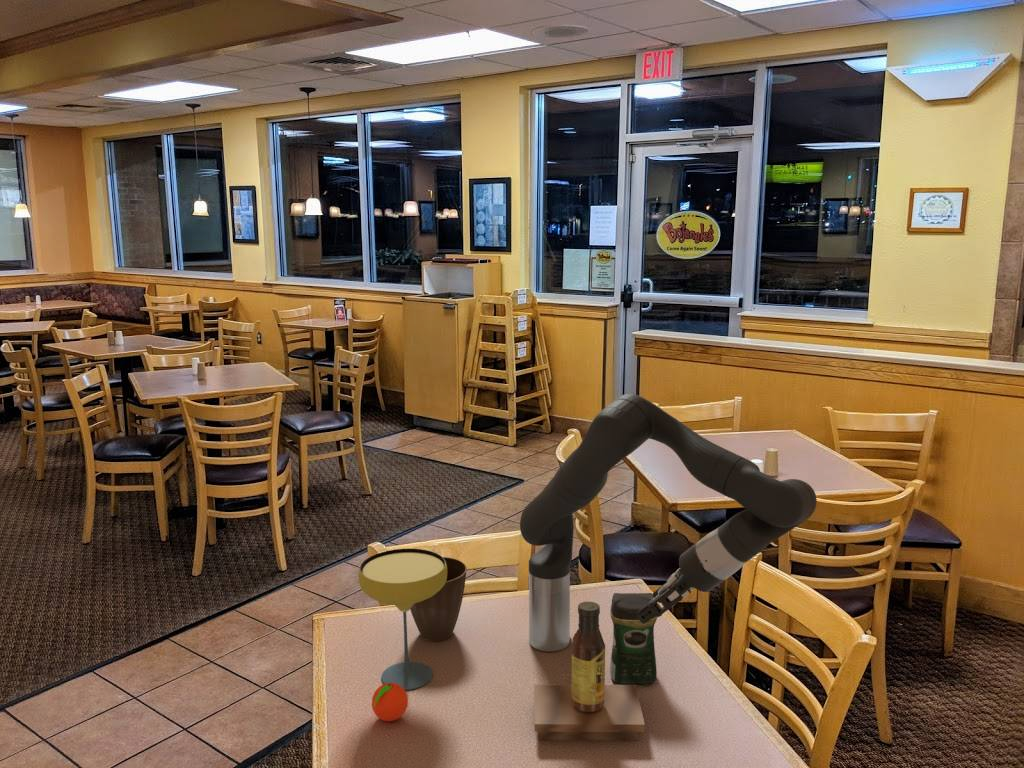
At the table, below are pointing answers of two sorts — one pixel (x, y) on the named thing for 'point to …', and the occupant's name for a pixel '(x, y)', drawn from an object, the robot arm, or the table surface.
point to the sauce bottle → (588, 661)
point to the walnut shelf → (587, 715)
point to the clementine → (389, 702)
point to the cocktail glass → (404, 598)
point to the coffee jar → (632, 641)
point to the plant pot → (442, 605)
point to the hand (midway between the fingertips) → (648, 608)
